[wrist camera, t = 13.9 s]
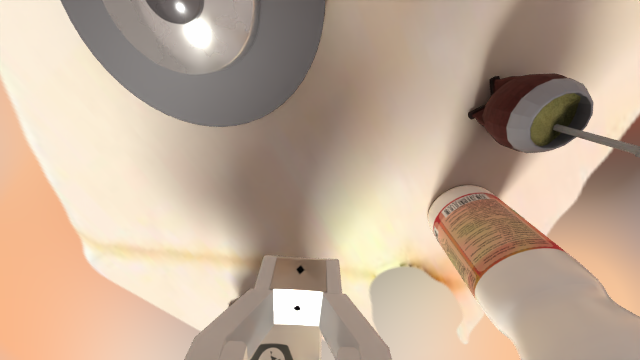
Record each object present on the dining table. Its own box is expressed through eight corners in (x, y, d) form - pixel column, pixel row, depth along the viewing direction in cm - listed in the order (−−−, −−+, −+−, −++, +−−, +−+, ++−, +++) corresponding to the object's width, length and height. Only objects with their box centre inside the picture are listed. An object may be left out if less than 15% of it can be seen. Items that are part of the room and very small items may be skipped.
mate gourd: (459, 88, 26) (608, 126, 13) (536, 53, 25) (792, 56, 11) (469, 146, 29) (596, 223, 16) (538, 118, 28) (738, 178, 15)
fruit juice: (446, 175, 31) (930, 629, 7) (506, 191, 33) (1084, 614, 8) (414, 229, 36) (637, 625, 11) (468, 241, 37) (772, 615, 12)
